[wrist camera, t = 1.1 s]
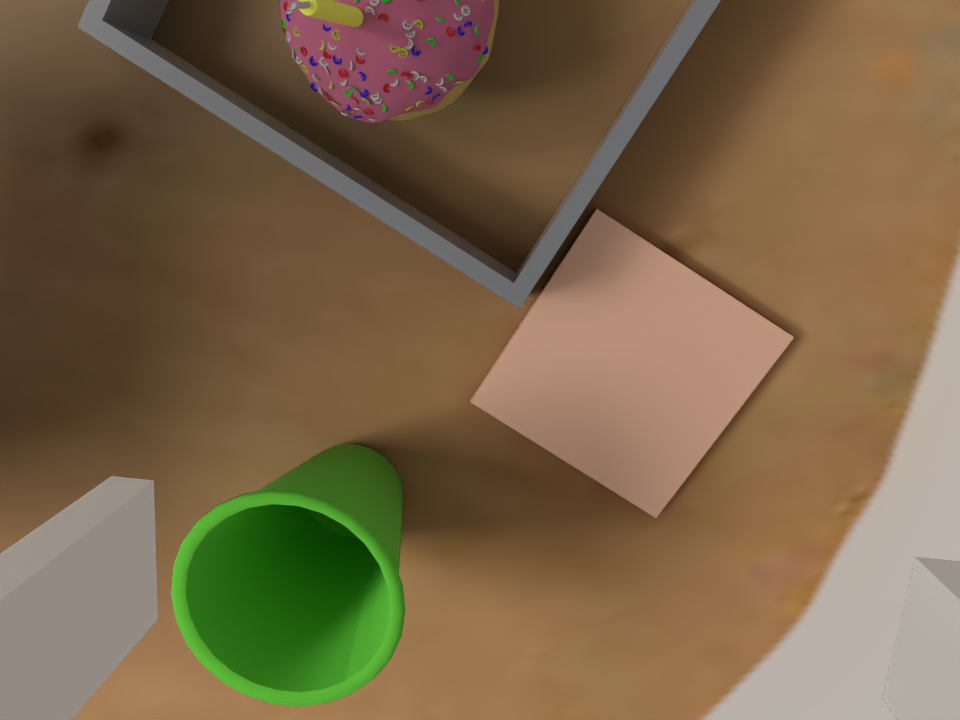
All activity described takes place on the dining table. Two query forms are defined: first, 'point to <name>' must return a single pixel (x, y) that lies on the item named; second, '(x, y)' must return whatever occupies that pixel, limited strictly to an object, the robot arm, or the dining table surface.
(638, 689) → the dining table surface
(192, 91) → the corral
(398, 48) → the cupcake
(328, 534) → the cup
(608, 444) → the plate
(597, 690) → the dining table surface
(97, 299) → the dining table surface
